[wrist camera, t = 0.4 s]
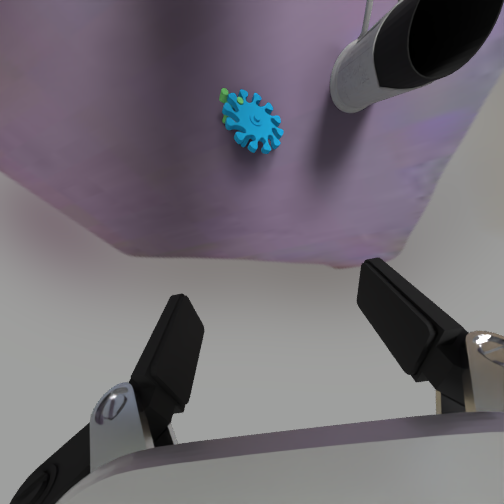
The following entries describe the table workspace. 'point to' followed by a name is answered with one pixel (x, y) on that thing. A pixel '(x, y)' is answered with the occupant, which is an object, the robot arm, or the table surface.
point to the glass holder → (410, 49)
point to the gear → (250, 120)
